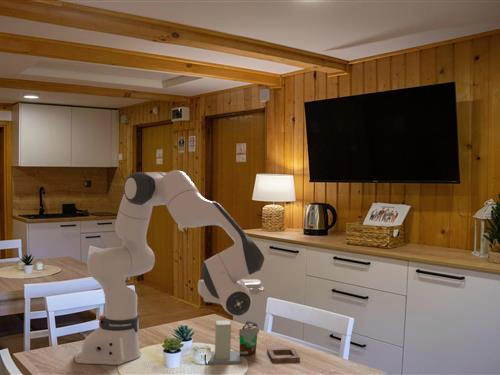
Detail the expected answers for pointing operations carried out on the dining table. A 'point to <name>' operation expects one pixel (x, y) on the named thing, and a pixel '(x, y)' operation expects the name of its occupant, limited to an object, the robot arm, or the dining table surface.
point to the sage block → (222, 339)
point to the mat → (232, 360)
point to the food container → (248, 338)
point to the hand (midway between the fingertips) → (227, 281)
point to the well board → (292, 358)
